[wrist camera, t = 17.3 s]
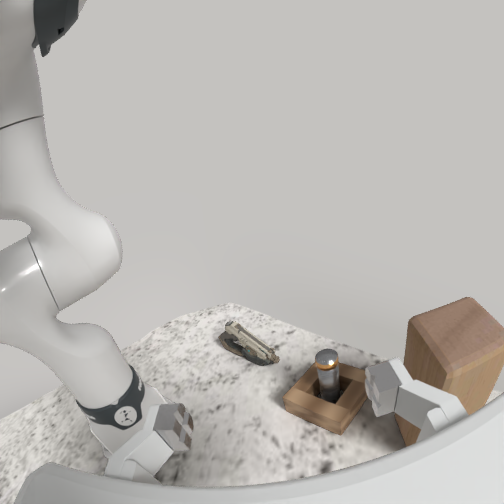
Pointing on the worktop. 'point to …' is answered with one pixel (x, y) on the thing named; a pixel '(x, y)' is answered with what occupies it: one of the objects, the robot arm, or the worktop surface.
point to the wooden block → (454, 355)
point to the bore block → (321, 411)
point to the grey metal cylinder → (328, 375)
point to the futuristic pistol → (247, 345)
